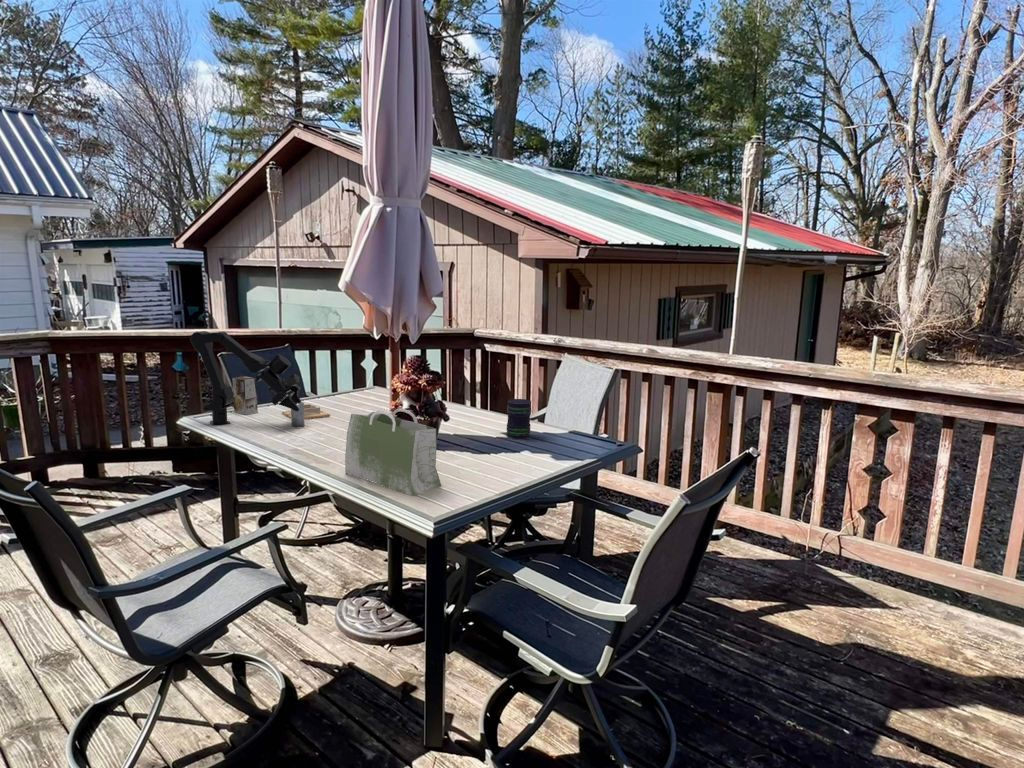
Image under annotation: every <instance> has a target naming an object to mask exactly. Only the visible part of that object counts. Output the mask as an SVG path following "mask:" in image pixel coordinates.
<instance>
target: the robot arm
mask: <svg viewBox="0 0 1024 768" xmlns="http://www.w3.org/2000/svg"><path fill="white" fill-rule="evenodd" d="M189 340H190V342H191V344H192V347H193V349H195V351H197V353H199V355H200V356H201V360H202V362H203V365H204V368H205V371H206V373H207V376H208V378H209V381H210V383H211V387H212V390H211V397H212V401H210V402H209V404H207V410H208V411H210V412H211V417H212V420H210V421H209V422H210V424H211V425H213V426H219V425H229V424H231V422H230V421H229V420H228V408H230V406H231V404H232V403H234V396H233V395H235V394H234V393H233V386H231V385H229V386H228V385H227V384H226V383H225V381H224V377H223V376H222V372H221V370H220V368H219V366H218V363H217V359H216V357H215V354H214V351H213V350H214V349H213V348H214V343H216V342H218V343H219V344H220V345H222V346H223V347H224V348H226V349H227V350H228V351H229V352H231V353H232V354H234V356H236V357H237V358H239V360H241V361H242V364H243V365H244V366H245V368H246V369H247V370H248V371H249V372H251V373H253V374H254V373H255V374H256V375H255V378H256V382H260V381H262V382H263V383H265V385H266V386H267V387H268V390H269V392H273V393H275V395H274V396H273V397H272V398H271V404H272V405H273V406H276V405H278V406H282V407H285V408H288V409H290V410H291V409H293V410H295V411H298V410H299V408H298V407H297V405H296V404H295V403H294V402H302V400H301V398H300V395H299V393H300V390H301V386H300V385H299V383H301V381H300V378H301V377H300V376H299V375H297V374H296V373H294V374H291V375H290V377H289V378H288V379H285V378H284V377H283V378H281V377H279V375H283V374H284V372H286V371H287V370H288V369H289V368H290V367H291V366H292V363H291V361H290V360H289V358H286V356H283V355H281V354H280V353H277V354H276V355H275V357H274V358H273V359H272V360H266V359H265V358H264V357H262V356H259V354H256V353H253V352H250V351H249V350H248V349H246V347H244V346H243V345H242V344H240V343H239V342H238V341H236V340H235V338H233V337H231V336H230V335H229V334H228V333H227V332H226V331H219V332H218V331H216V332H208V331H207V330H203V331H196V332H194V333H192V334H191V336H190V339H189ZM259 372H261V373H259ZM257 373H258V374H257Z"/></svg>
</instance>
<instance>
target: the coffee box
mask: <svg viewBox="0 0 1024 768" xmlns="http://www.w3.org/2000/svg"><path fill="white" fill-rule="evenodd" d="M257 387H258V384H257V382H256V377H251V376H246V375H245V376H244V375H242V376H237V377H232V391H233V393H234V394H235V395H233V396H234V400H233V412H234V413H235V412H236V413H237V414H240V415H244V416H246V415H247V416H248V415H253V414H254V415H255V414H258V412H259V410H258V391H257V390H258V388H257ZM236 413H235V414H236Z"/></svg>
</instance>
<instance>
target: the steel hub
mask: <svg viewBox="0 0 1024 768" xmlns="http://www.w3.org/2000/svg"><path fill="white" fill-rule="evenodd" d="M294 403H295V404H296V405H297V407H298V408H299V410H298V411H295V410H293V409H290V411H291V419H290V420H291V421H290V422H291V426H292V427H302V428H304V427H305V420H304V405H305V402H303V401H301V402H294ZM292 427H291V428H292Z"/></svg>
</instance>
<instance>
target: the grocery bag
mask: <svg viewBox="0 0 1024 768" xmlns="http://www.w3.org/2000/svg"><path fill="white" fill-rule="evenodd" d="M398 412H403V413H406V414H408V415H410V416H411V417H412V419H413V421H409V420H406V419H402V418H399V417H396V414H397V413H398ZM344 457H345V458H344V459H345V461H344V462H345V463H344V466H345V468H344V474H345V473H347V474H346V475H348V474H350V475H349V476H352V475H353V476H352V477H356V476H358V477H357V478H360V477H362V478H361V479H363V478H365V479H364V480H366V479H368V480H370V481H369V482H371V481H373V482H376V483H378V484H377V485H379V484H380V485H379V486H381V485H383V486H382V487H384V486H385V487H384V488H386V487H387V488H386V489H389V488H390V489H389V490H391V489H392V491H394V490H395V492H398V493H402V494H406V495H410V496H414V497H415V496H419V495H421V494H423V493H426V492H429V491H432V490H435V489H438V488H440V487H442V483H441V480H440V476H439V473H438V470H437V466H436V465H437V428H435V427H432V426H429V425H425V424H421V423H419V422H418V419H417V417H416V415H415V414H414V413H413V412H411V411H410V410H408V409H404V408H400V407H398V408H396V409H394V410H393V412H392V413H390V412H387V411H385V410H380V409H379V410H376V411H372V412H370V413H369V414H367V415H365V414H357V413H351V414H350V418H349V423H348V427H347V430H346V442H345V456H344ZM368 480H367V481H368ZM373 482H372V483H373ZM376 483H375V484H376Z"/></svg>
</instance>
